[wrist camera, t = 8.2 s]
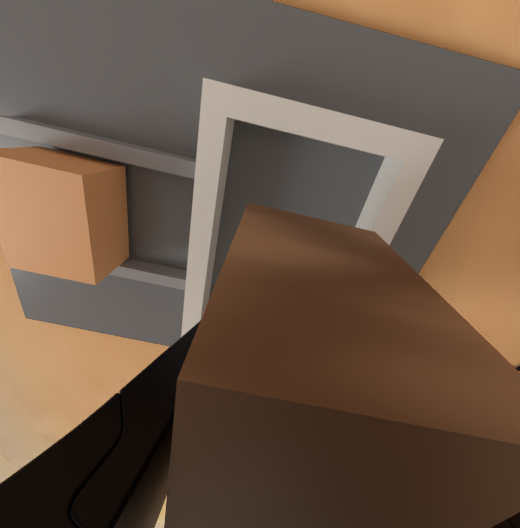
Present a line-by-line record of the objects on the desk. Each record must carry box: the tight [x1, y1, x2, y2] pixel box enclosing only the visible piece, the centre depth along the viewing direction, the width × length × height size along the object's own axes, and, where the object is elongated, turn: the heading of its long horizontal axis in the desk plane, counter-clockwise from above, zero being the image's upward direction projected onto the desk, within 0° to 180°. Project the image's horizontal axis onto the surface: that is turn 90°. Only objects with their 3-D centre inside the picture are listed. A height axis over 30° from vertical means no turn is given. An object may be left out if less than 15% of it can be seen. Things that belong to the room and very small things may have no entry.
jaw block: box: [164, 202, 520, 528], centre depth 6 cm, size 4×7×6 cm, turn 168°
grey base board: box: [0, 0, 520, 346], centre depth 13 cm, size 24×19×2 cm
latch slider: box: [0, 146, 129, 285], centre depth 11 cm, size 4×5×3 cm
